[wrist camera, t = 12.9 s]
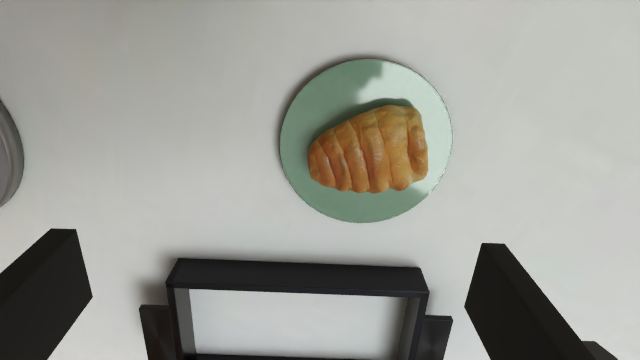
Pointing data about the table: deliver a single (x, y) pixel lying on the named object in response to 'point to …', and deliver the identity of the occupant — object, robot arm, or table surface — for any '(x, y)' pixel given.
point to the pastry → (371, 151)
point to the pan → (176, 319)
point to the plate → (346, 102)
